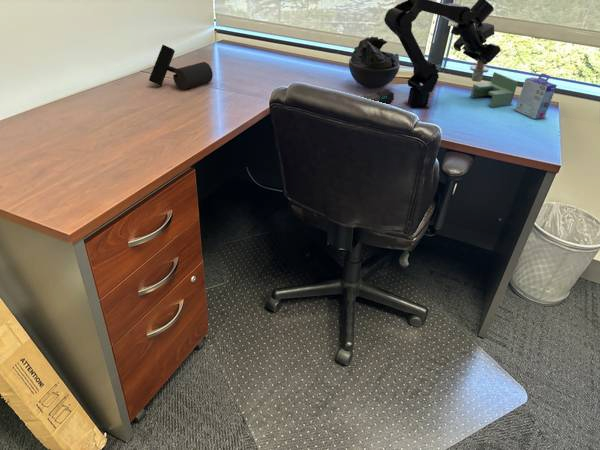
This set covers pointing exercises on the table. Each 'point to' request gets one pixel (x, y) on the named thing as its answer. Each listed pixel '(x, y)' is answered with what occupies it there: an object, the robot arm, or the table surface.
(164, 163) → the table surface
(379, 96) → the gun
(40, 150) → the table surface
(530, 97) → the ink cartridge box
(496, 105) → the rack
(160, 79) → the track light
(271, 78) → the table surface
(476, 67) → the cylinder on round base
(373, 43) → the bowl of black rocks
